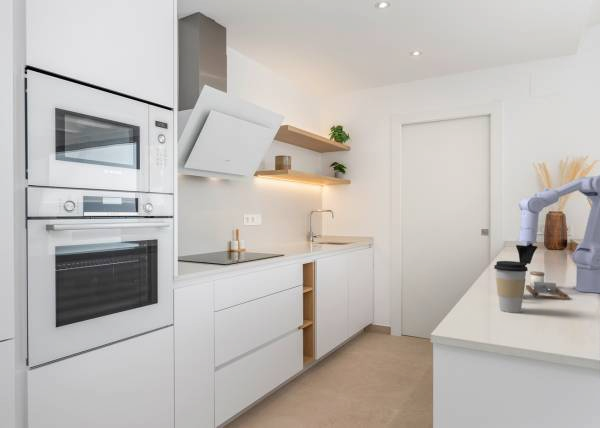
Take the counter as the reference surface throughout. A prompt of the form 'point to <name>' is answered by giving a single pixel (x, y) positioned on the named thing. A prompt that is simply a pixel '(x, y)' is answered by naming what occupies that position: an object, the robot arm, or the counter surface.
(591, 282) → the robot arm
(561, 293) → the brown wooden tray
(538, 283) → the pusher plate
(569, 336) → the counter surface
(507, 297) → the coffee cup
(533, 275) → the jar
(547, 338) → the counter surface
